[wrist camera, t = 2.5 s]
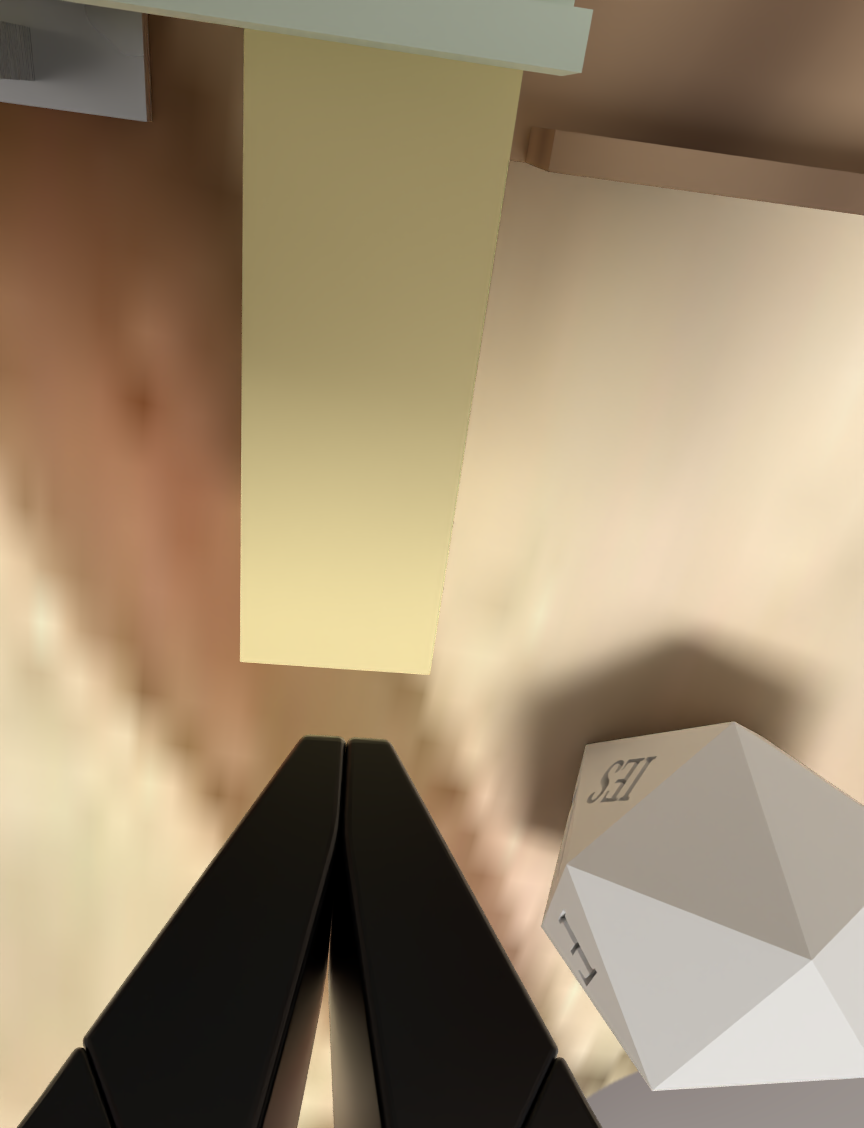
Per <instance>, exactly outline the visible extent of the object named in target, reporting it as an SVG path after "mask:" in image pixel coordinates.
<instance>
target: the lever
mask: <svg viewBox="0 0 864 1128" xmlns="http://www.w3.org/2000/svg"><path fill="white" fill-rule="evenodd" d="M62 1H69V2H75V3H82V4H88V5H95V6H102V7H108V8H115V9H121V10H128V11H135V12H141V13H148V14H154V15H161V16H168V17H174V18H181V19H188V20H194V21H201V22H207V23H214V24H221V25H227V26H234V27H240V28H244V73H243V246H242V420H241V593H240V662H250V663H265V664H279V665H294V666H308V667H323V668H338V669H352V670H367V671H381V672H396V673H411V674H425V675H430V670H431V664H432V657H433V651H434V644H435V638H436V631H437V625H438V619H439V612H440V606H441V599H442V593H443V586H444V580H445V573H446V567H447V560H448V554H449V547H450V541H451V534H452V528H453V522H454V515H455V509H456V502H457V496H458V489H459V483H460V476H461V470H462V463H463V457H464V450H465V444H466V438H467V431H468V425H469V418H470V412H471V405H472V399H473V392H474V386H475V379H476V373H477V366H478V360H479V354H480V347H481V341H482V334H483V328H484V321H485V315H486V308H487V302H488V295H489V289H490V282H491V276H492V270H493V263H494V257H495V250H496V244H497V237H498V231H499V224H500V218H501V211H502V205H503V198H504V192H505V185H506V179H507V173H508V166H509V160H510V153H511V147H512V140H513V134H514V127H515V121H516V114H517V108H518V101H519V95H520V89H521V82H522V76H523V70H524V71H531V72H538V73H544V74H551V75H557V76H565V75H571V74H577V73H582V68H583V63H584V57H585V52H586V46H587V41H588V36H589V30H590V25H591V20H592V14H593V10H592V9H586V8H580V7H574V3H575V0H62Z"/></svg>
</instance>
